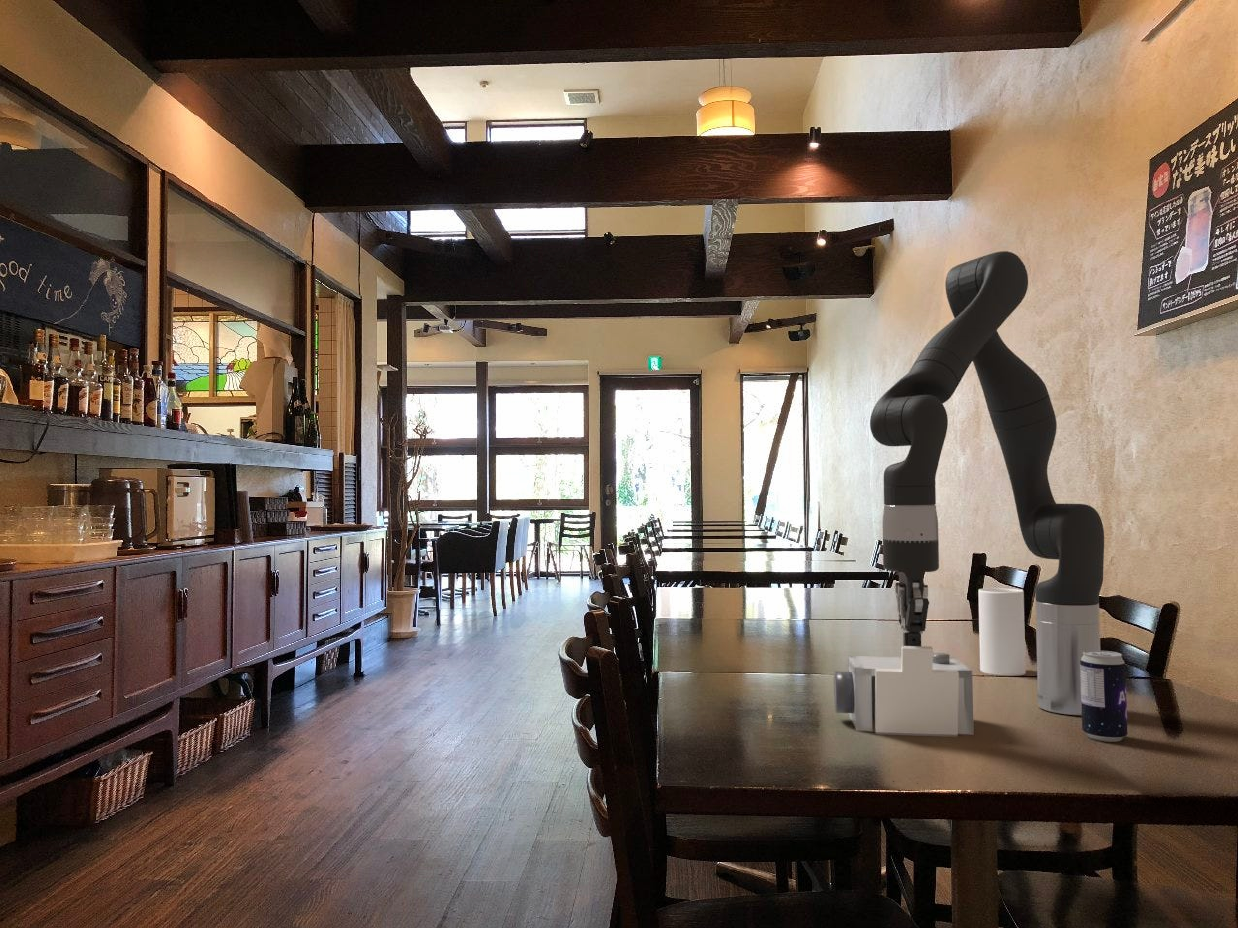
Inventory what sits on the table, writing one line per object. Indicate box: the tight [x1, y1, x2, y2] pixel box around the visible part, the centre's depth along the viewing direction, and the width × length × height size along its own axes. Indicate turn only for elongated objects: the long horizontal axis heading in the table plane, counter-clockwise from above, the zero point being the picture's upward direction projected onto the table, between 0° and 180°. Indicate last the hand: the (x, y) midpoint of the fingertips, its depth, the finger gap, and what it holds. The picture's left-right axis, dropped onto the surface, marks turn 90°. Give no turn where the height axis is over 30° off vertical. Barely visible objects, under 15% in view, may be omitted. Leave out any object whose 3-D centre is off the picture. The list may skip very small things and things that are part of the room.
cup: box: [977, 587, 1027, 677], centre depth 173 cm, size 8×8×16 cm
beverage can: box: [1080, 649, 1129, 743], centre depth 125 cm, size 6×6×12 cm
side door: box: [874, 645, 959, 738], centre depth 122 cm, size 11×1×13 cm, turn 81°
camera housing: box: [833, 652, 974, 735], centre depth 130 cm, size 18×10×11 cm, turn 81°
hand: (912, 659), depth 124 cm, fingers closed
